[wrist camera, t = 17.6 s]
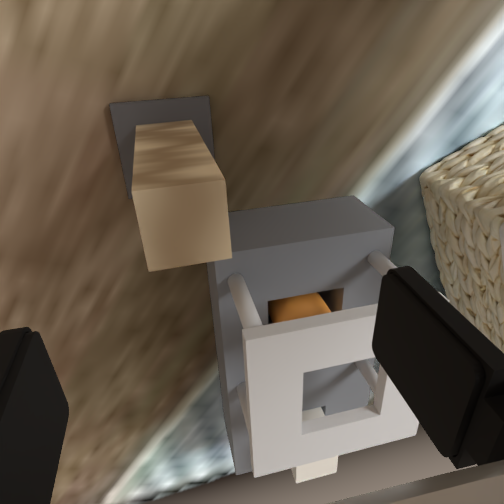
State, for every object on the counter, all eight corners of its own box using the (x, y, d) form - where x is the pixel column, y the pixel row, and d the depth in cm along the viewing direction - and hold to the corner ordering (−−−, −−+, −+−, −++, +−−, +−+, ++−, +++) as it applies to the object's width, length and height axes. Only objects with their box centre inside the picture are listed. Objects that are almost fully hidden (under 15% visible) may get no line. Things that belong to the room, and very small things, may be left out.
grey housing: (201, 215, 34) (235, 321, 21) (353, 195, 36) (462, 278, 24) (224, 418, 46) (253, 557, 34) (335, 392, 49) (400, 513, 37)
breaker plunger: (258, 268, 36) (285, 323, 30) (307, 260, 37) (344, 311, 31) (260, 310, 39) (285, 369, 32) (306, 301, 40) (340, 357, 33)
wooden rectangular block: (191, 119, 29) (225, 179, 17) (197, 172, 31) (232, 258, 19) (136, 125, 28) (131, 191, 17) (146, 178, 30) (148, 271, 19)
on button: (273, 394, 41) (296, 456, 35) (310, 386, 41) (339, 445, 35) (274, 420, 42) (296, 483, 37) (309, 411, 43) (336, 472, 37)
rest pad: (208, 95, 29) (209, 96, 29) (216, 185, 33) (217, 188, 32) (109, 103, 28) (109, 104, 27) (128, 196, 31) (128, 198, 31)
